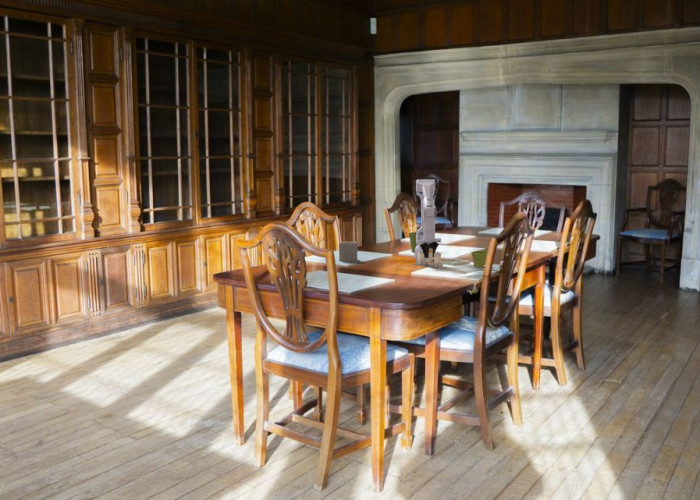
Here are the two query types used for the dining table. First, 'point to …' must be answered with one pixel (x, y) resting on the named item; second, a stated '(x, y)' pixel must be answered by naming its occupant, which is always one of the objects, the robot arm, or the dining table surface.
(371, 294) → the dining table surface
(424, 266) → the fuse holder
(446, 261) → the tray
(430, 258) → the cylinder
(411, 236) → the plant pot
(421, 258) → the fuse left
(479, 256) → the plant pot
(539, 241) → the dining table surface
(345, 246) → the grey block
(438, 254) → the fuse right
